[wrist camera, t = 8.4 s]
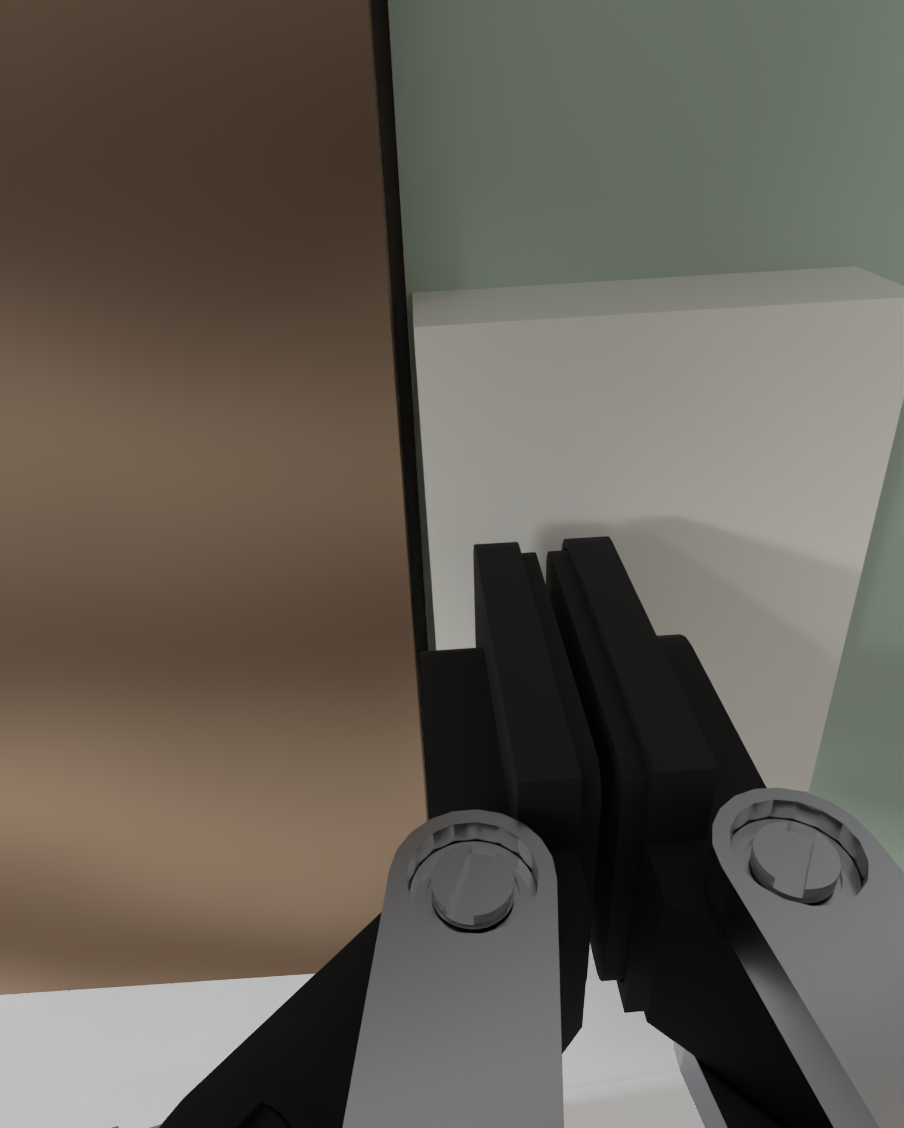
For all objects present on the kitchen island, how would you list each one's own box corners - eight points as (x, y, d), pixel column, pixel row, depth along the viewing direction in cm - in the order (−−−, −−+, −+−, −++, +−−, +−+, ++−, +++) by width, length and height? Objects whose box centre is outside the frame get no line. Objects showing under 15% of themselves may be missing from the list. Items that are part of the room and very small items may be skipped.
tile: (412, 292, 11) (413, 327, 9) (854, 266, 11) (927, 296, 10) (443, 741, 15) (448, 816, 13) (767, 718, 15) (808, 791, 14)
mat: (379, -135, 9) (378, -144, 9) (1518, -174, 9) (1562, -186, 9) (442, 886, 18) (443, 901, 17) (1034, 847, 18) (1046, 861, 18)
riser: (-604, -164, 9) (-784, -207, 7) (357, -194, 9) (349, -244, 7) (-29, 931, 18) (-63, 998, 16) (434, 901, 18) (437, 965, 17)
